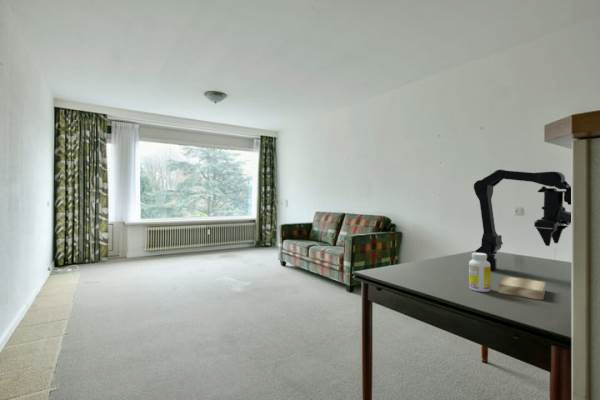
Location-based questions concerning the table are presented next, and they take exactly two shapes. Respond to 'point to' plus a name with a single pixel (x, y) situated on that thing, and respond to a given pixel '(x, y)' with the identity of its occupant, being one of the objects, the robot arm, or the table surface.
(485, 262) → the supplement bottle
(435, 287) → the table surface
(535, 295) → the oak board
